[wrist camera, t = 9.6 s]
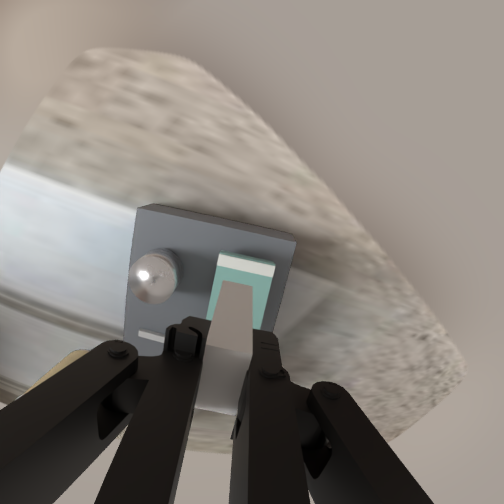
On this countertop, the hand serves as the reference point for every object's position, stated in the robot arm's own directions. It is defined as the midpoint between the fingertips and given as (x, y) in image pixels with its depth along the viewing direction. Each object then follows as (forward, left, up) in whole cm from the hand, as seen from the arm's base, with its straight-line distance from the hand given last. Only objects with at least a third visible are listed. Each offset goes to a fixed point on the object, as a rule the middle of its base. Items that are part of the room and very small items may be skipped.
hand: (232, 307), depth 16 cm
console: (-3, -6, -14) cm, 15 cm away
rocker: (0, -3, -7) cm, 8 cm away
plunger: (-6, -2, -9) cm, 11 cm away
